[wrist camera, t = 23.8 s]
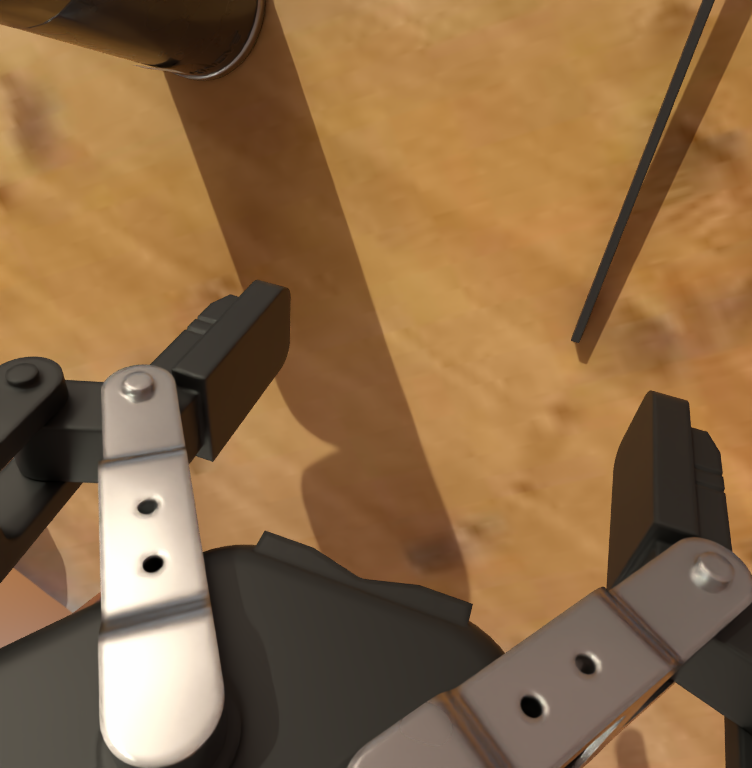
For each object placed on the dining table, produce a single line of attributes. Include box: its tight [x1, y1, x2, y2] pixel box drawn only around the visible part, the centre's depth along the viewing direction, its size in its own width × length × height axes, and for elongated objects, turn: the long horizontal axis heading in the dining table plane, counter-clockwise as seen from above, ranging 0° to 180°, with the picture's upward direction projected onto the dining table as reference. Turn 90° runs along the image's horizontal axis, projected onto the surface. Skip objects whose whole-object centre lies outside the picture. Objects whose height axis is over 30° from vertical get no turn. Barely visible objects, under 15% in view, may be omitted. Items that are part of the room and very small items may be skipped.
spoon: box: [571, 0, 715, 343], centre depth 32 cm, size 1×4×28 cm
